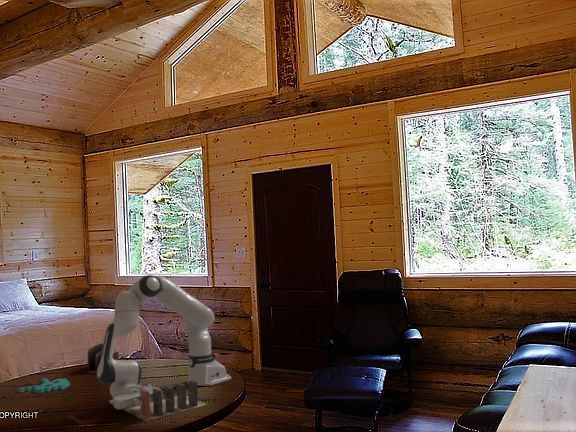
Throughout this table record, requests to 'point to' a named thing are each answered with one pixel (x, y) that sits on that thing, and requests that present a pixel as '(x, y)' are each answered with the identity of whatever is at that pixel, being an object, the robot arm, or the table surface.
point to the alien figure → (47, 386)
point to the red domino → (145, 403)
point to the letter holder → (97, 357)
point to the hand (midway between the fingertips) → (145, 402)
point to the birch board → (137, 409)
